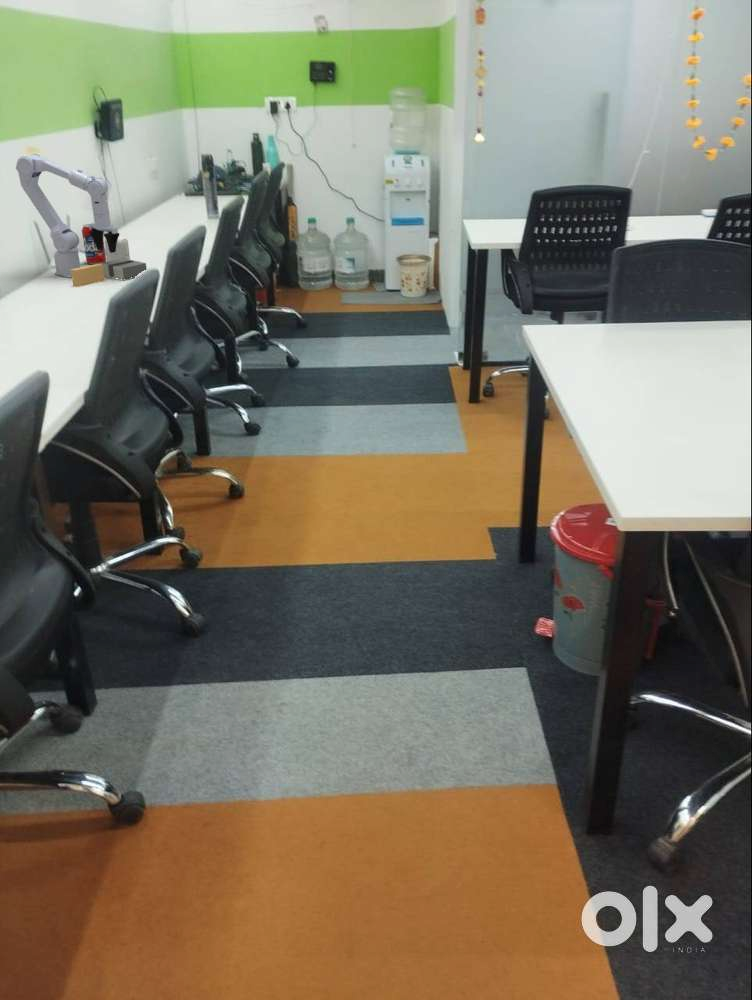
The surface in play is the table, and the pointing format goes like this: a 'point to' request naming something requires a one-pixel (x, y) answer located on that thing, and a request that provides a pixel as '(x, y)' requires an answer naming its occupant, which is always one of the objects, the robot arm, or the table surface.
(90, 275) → the tan rectangular block
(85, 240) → the soda can
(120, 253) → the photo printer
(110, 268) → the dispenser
